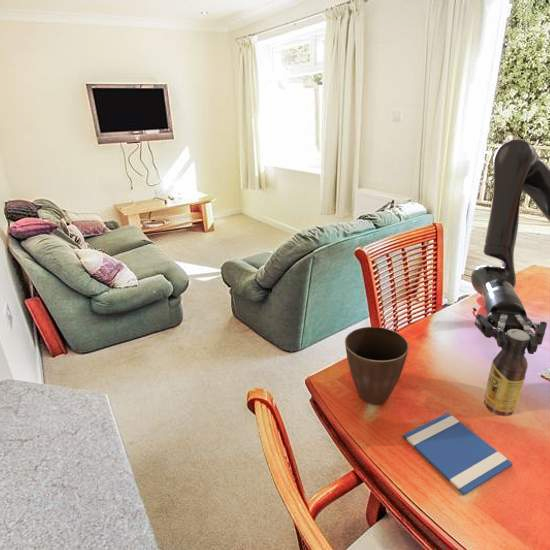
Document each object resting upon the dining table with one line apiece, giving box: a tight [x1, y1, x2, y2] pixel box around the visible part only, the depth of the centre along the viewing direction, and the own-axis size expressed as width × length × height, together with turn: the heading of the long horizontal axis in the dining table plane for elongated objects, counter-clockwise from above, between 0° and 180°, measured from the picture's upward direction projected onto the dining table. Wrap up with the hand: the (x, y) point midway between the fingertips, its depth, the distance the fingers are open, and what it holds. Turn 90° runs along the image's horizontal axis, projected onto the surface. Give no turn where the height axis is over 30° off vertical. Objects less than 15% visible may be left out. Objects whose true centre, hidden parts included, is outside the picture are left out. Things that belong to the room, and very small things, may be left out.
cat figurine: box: [471, 293, 487, 318], centre depth 123 cm, size 7×7×12 cm
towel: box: [402, 412, 513, 496], centre depth 80 cm, size 14×16×1 cm
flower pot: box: [344, 326, 410, 405], centre depth 94 cm, size 15×15×16 cm
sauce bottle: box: [483, 329, 530, 417], centre depth 79 cm, size 6×6×20 cm
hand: (518, 348), depth 74 cm, fingers closed on sauce bottle, 4 cm apart
